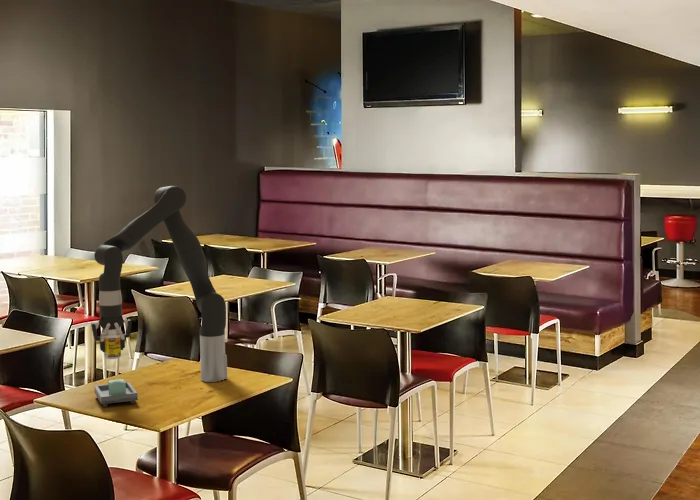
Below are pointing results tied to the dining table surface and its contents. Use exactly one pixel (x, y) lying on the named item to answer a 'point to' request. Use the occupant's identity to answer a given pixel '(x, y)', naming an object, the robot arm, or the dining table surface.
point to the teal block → (117, 387)
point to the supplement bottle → (112, 345)
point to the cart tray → (105, 398)
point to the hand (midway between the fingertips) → (112, 350)
